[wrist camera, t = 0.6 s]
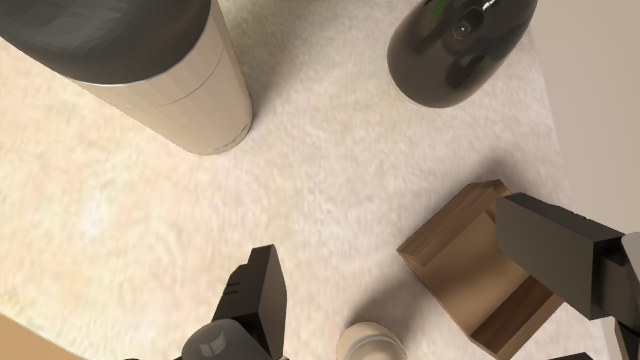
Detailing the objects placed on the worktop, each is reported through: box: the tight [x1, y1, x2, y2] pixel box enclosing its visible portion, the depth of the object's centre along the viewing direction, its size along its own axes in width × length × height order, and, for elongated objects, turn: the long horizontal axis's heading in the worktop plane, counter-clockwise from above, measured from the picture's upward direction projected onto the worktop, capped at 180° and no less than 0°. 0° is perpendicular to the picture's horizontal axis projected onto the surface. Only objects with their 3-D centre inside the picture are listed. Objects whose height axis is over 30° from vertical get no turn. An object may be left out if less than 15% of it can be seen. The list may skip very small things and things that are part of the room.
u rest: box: [396, 179, 565, 360], centre depth 30 cm, size 12×11×5 cm
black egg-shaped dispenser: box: [387, 0, 538, 108], centre depth 27 cm, size 10×10×15 cm
